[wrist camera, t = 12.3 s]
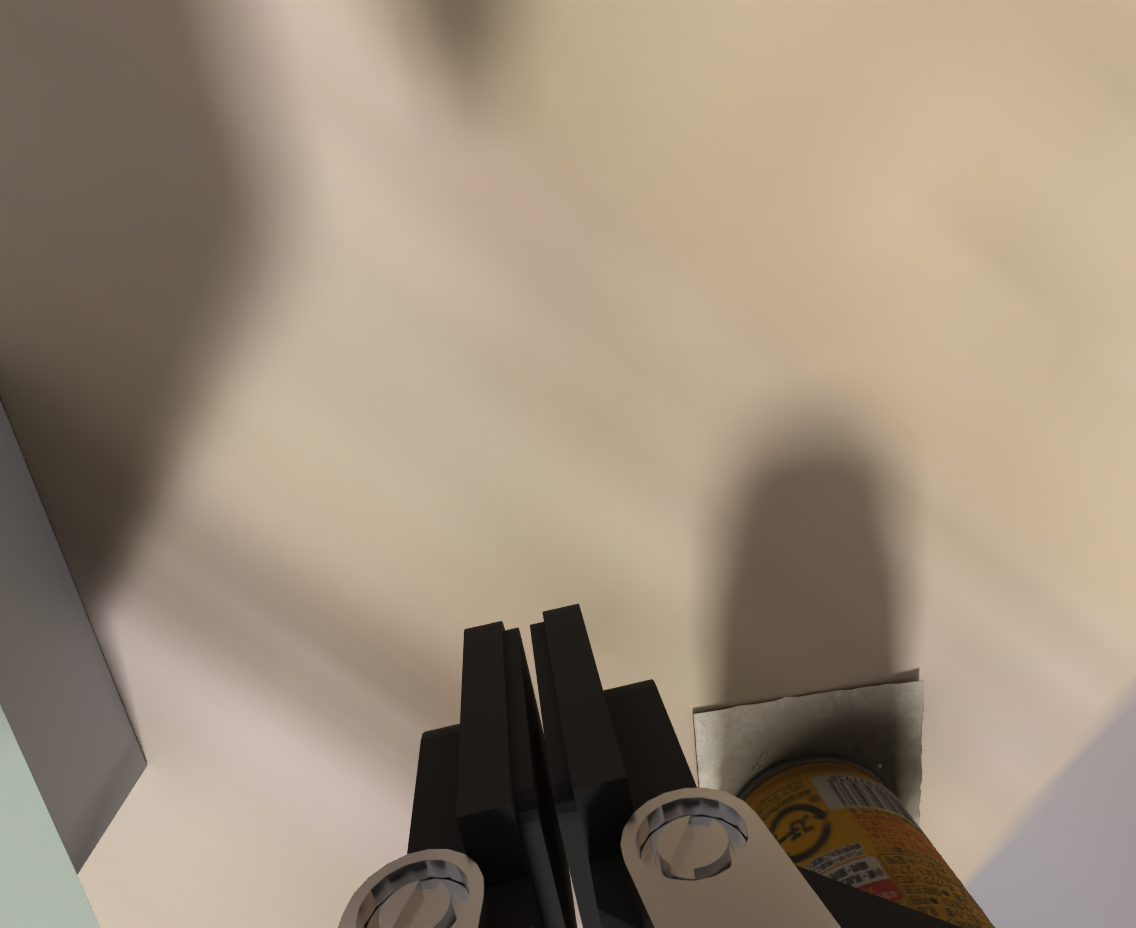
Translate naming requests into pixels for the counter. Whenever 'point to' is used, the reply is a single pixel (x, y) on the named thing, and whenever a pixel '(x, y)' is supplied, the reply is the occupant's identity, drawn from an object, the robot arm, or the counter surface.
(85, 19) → the counter surface
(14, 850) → the lid
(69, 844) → the grey u-shaped block
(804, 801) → the condiment
